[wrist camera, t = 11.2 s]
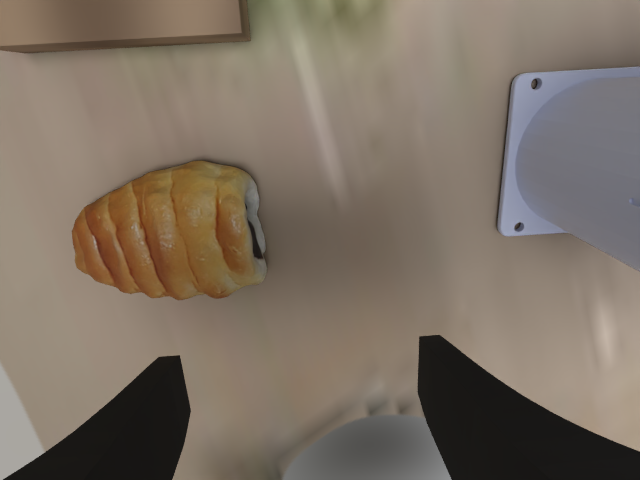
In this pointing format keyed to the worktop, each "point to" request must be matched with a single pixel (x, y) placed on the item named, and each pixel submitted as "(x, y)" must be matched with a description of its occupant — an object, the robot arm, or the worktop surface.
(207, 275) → the pastry
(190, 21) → the walnut base block
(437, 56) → the worktop surface
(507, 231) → the robot arm
